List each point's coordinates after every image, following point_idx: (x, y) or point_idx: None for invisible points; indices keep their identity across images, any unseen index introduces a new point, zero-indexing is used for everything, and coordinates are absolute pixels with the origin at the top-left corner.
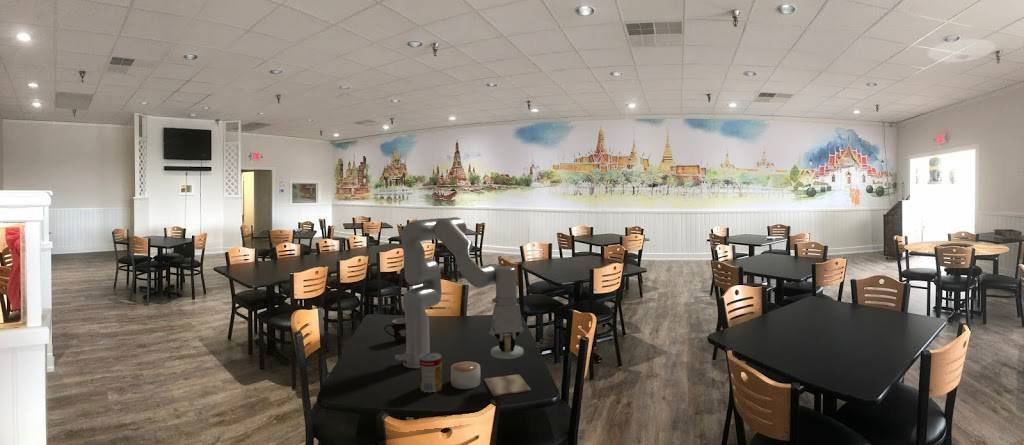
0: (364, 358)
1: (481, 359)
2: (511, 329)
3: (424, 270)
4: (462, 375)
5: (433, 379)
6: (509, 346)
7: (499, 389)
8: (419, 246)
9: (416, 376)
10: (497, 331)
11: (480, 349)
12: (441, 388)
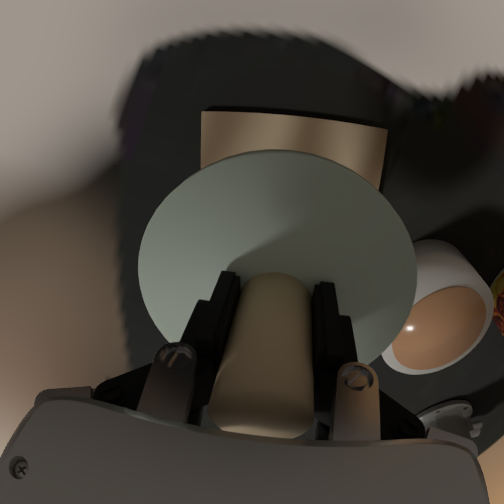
0: (486, 438)
1: None
2: (190, 476)
3: None
4: (479, 275)
5: None
6: (259, 301)
7: (342, 164)
8: None
9: (489, 364)
10: (468, 463)
11: None
12: (499, 274)
